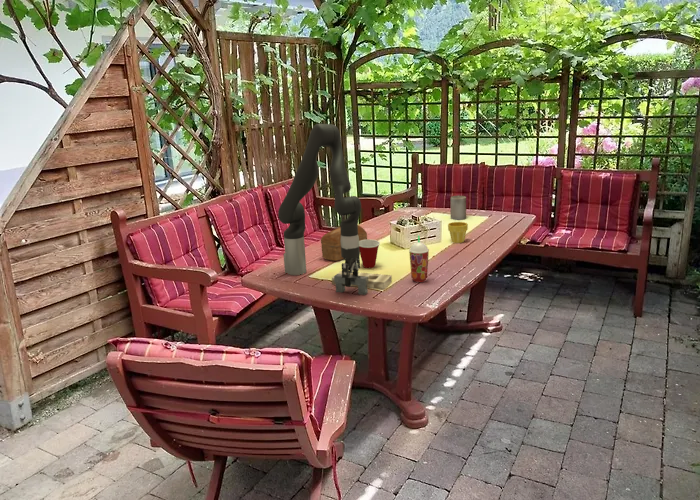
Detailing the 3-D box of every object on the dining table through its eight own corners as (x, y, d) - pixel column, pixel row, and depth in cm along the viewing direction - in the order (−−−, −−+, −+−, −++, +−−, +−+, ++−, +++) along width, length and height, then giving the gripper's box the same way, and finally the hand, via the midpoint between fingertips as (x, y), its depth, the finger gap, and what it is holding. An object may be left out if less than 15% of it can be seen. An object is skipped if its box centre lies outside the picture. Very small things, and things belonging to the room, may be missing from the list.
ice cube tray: (332, 284, 247) (331, 277, 247) (341, 277, 256) (340, 270, 256) (384, 289, 239) (384, 282, 238) (391, 281, 247) (391, 275, 247)
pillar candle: (457, 215, 366) (457, 193, 362) (469, 218, 358) (469, 194, 354) (447, 218, 360) (447, 195, 356) (459, 220, 353) (459, 197, 348)
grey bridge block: (334, 291, 238) (334, 276, 236) (337, 289, 241) (336, 273, 239) (366, 295, 233) (365, 278, 231) (368, 292, 236) (368, 276, 234)
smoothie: (427, 276, 252) (426, 232, 247) (430, 282, 244) (430, 237, 238) (408, 277, 252) (407, 233, 246) (411, 283, 244) (410, 238, 238)
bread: (318, 259, 284) (316, 232, 281) (353, 247, 305) (352, 220, 301) (336, 263, 277) (334, 235, 273) (371, 250, 298) (370, 223, 294)
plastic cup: (361, 271, 263) (360, 246, 260) (355, 264, 273) (354, 240, 270) (383, 268, 266) (383, 243, 263) (376, 262, 276) (375, 238, 273)
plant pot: (444, 241, 307) (444, 224, 304) (456, 238, 313) (456, 220, 311) (459, 245, 299) (459, 227, 297) (471, 241, 306) (471, 223, 303)
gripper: (348, 240, 239) (349, 277, 243) (334, 249, 226) (336, 288, 231) (364, 241, 236) (366, 278, 241) (352, 250, 224) (354, 289, 228)
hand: (351, 283), depth 236 cm, fingers open, 8 cm apart
